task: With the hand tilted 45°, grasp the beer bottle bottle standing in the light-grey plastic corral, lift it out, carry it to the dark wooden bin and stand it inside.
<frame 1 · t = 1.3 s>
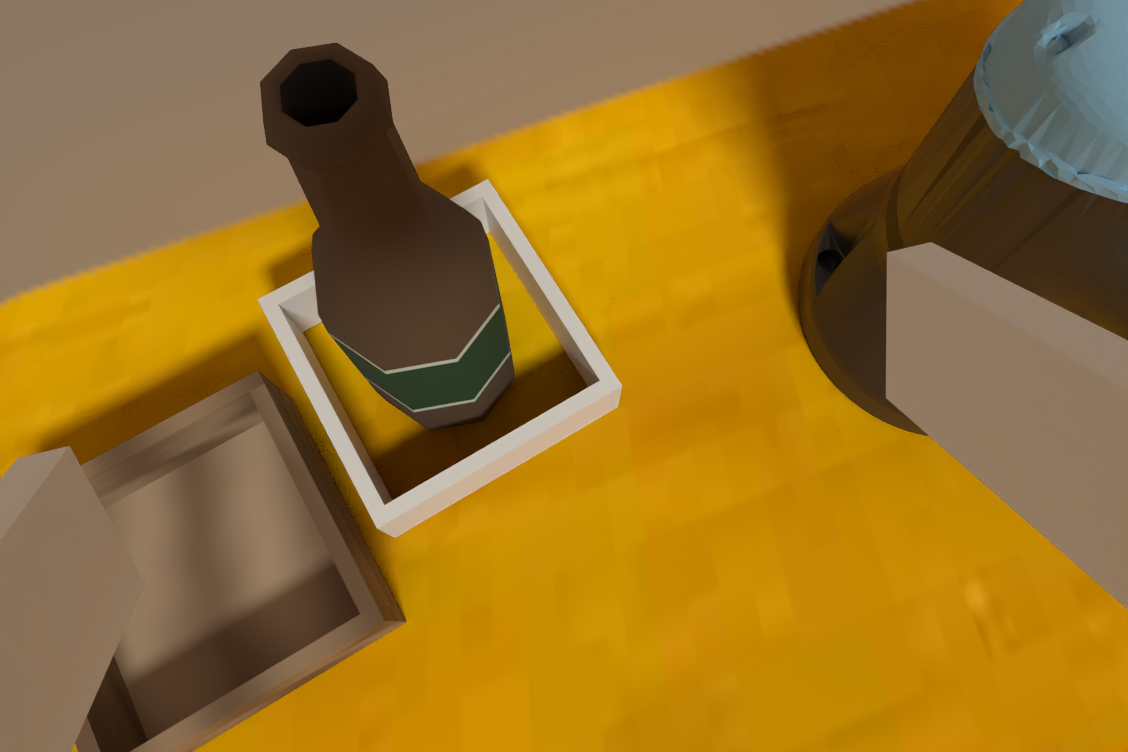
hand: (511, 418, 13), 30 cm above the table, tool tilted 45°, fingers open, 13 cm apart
wooden bin: (227, 573, 41), on the table
grey corral: (447, 366, 45), on the table
beer bottle: (448, 367, 45), on the table
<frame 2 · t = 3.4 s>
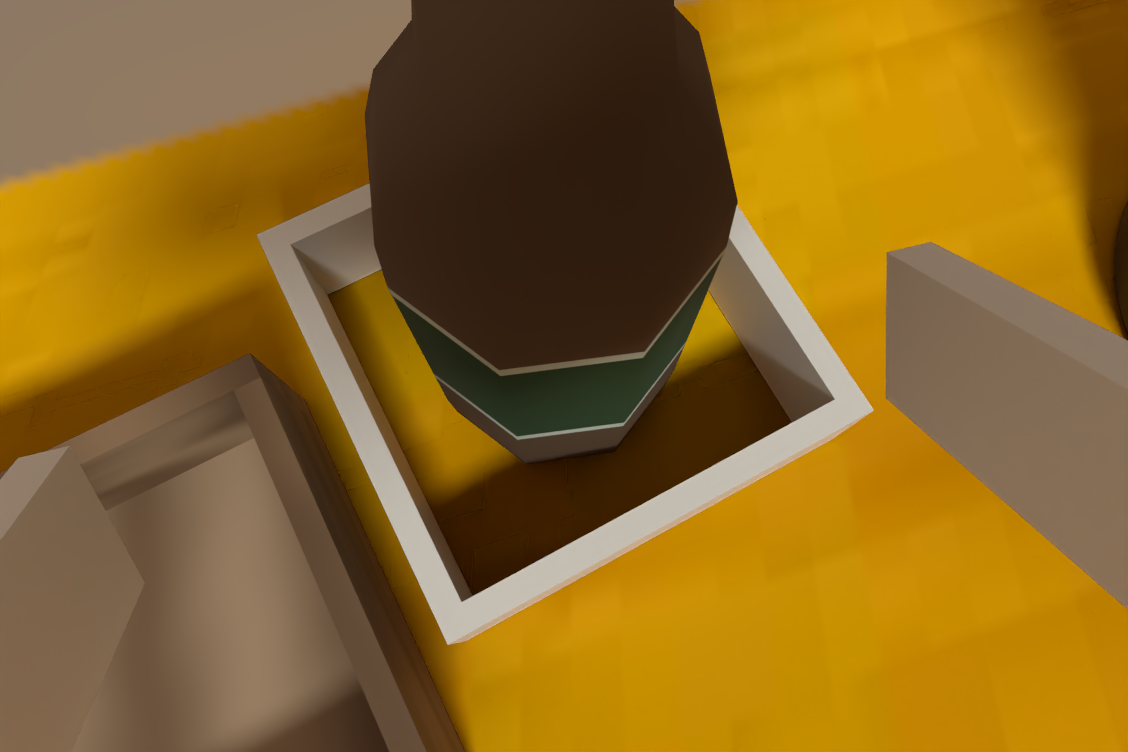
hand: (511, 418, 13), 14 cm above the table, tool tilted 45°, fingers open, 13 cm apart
wooden bin: (185, 688, 25), on the table
grey corral: (555, 361, 28), on the table
beer bottle: (556, 362, 28), on the table
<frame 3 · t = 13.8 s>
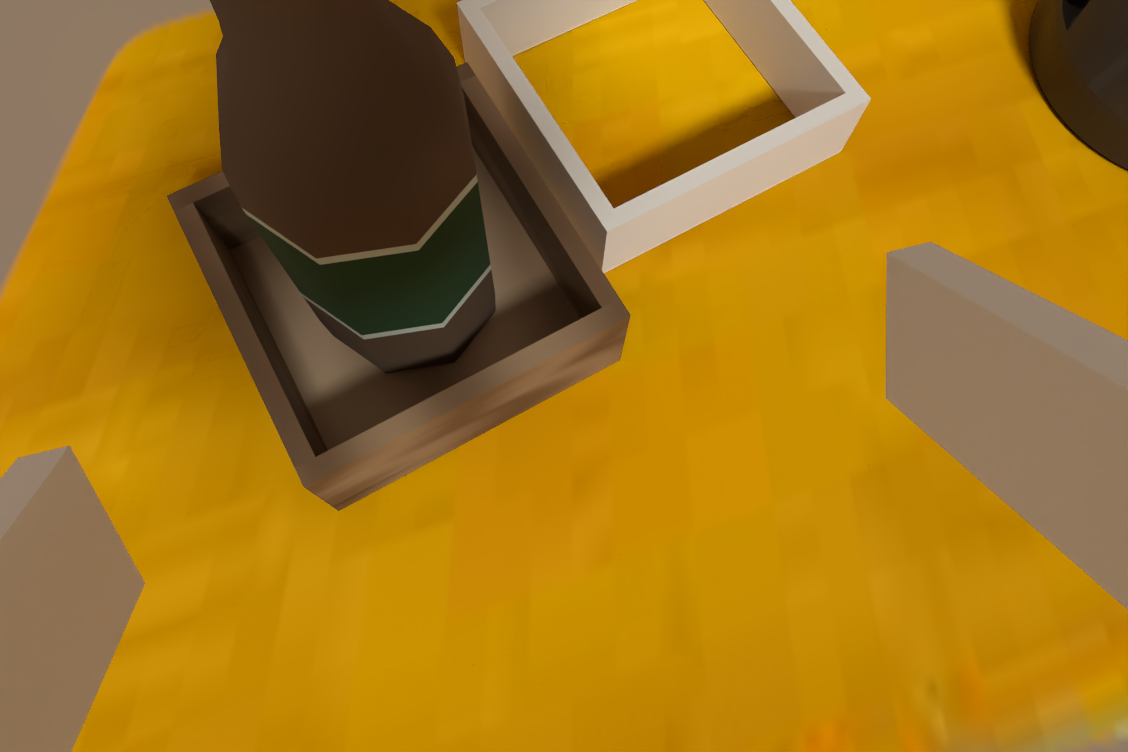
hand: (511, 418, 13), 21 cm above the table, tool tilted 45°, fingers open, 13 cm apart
wooden bin: (413, 305, 37), on the table
grey corral: (649, 106, 40), on the table
beer bottle: (413, 298, 36), point 1 cm above the table, touching wooden bin
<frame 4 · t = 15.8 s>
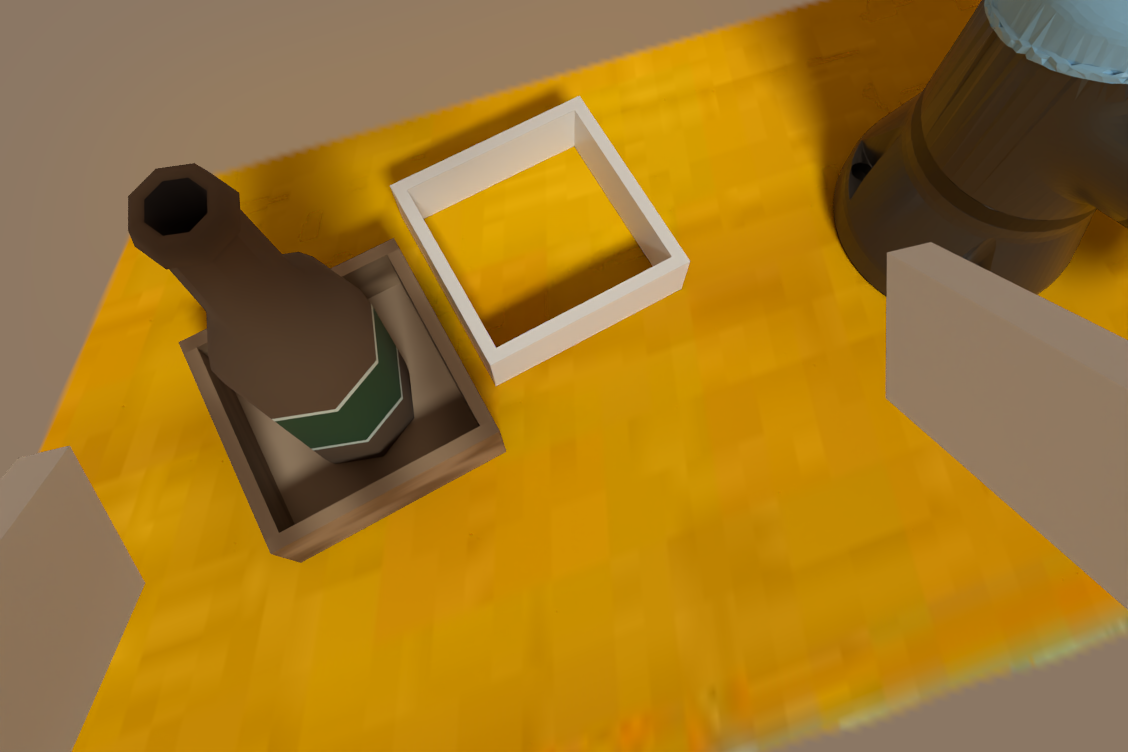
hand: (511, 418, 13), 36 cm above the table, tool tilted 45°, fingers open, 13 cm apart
wooden bin: (358, 410, 50), on the table
grey corral: (539, 252, 54), on the table
beer bottle: (356, 406, 49), point 1 cm above the table, touching wooden bin
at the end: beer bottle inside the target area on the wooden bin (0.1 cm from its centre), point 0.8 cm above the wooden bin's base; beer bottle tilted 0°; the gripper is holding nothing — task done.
